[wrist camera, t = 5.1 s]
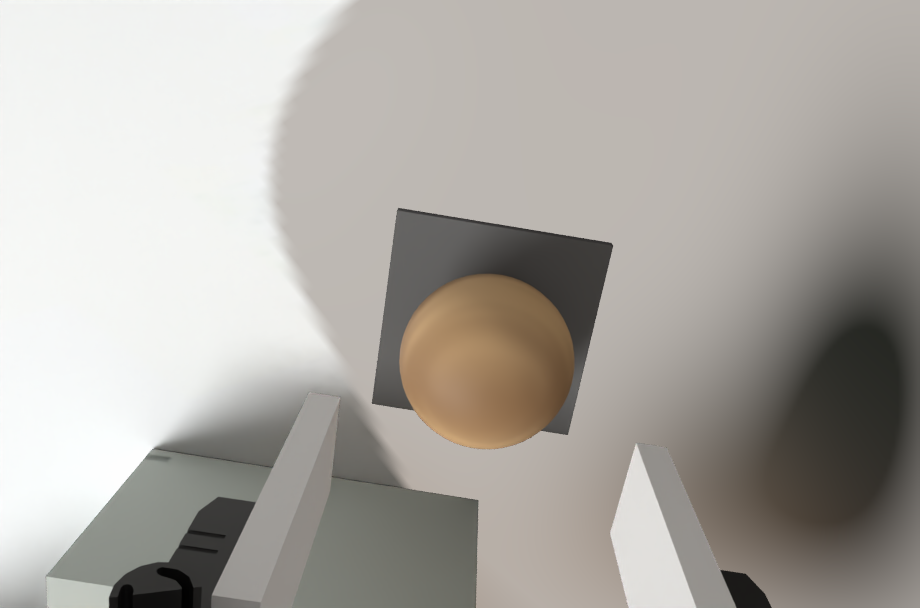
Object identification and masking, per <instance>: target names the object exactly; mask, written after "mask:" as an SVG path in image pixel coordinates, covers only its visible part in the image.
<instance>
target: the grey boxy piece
mask: <svg viewBox="0 0 920 608" xmlns="http://www.w3.org/2000/svg"><path fill="white" fill-rule="evenodd" d="M271 470H272V468H271V467H265V466H258V465H252V464H246V463H239V462H233V461H227V460H220V459H214V458H208V457H201V456H195V455H189V454H182V453H176V452H170V451H163V450H157V449H152V450H151V451H150V453H149V454H148V455H147V456H146V457H145V459H144V460H143V461H142V462H141V463H140V465H139V466H138V467H137V468H136V469H135V471H134V472H133V473H132V474H131V475H130V476H129V478H128V479H127V480H126V481H125V482H124V484H123V485H122V486H121V487H120V488H119V490H118V491H117V492H116V493H115V494H114V496H113V497H112V498H111V499H110V500H109V502H108V503H107V504H106V505H105V506H104V508H103V509H102V510H101V511H100V512H99V514H98V515H97V516H96V517H95V518H94V520H93V521H92V522H91V523H90V524H89V526H88V527H87V528H86V529H85V530H84V531H83V533H82V534H81V535H80V536H79V537H78V539H77V540H76V541H75V542H74V543H73V545H72V546H71V547H70V548H69V549H68V551H67V552H66V553H65V554H64V555H63V557H62V558H61V559H60V560H59V561H58V563H57V564H56V565H55V566H54V567H53V569H52V570H51V571H50V572H49V573H48V575H47V576H46V589H47V608H109V596H110V593H111V591H112V588H113V586H114V584H115V583H116V582H118V581H119V580H120V579H121V578H122V577H123V576H124V575H125V574H126V573H128V572H130V571H132V570H134V569H136V568H138V567H140V566H143V565H147V564H151V563H156V562H169V561H170V559H171V557H172V555H173V554H174V552H175V550H176V549H178V547H179V544H180V542H181V540H182V539H183V537H184V535H185V533H187V531H188V528H189V527H190V525H191V523H192V522H193V520H194V518H195V516H196V515H197V513H198V511H199V510H201V509H202V508H204V507H205V506H206V505H208V504H209V503H210V502H212V501H213V500H214V499H216V498H217V497H225V498H231V499H238V500H245V501H251V502H257V499H258V497H259V495H260V493H261V491H262V489H263V487H264V485H265V483H266V481H267V479H268V477H269V474H270V472H271ZM477 530H478V500H473V499H467V498H461V497H454V496H448V495H442V494H436V493H429V492H423V491H416V490H410V489H404V488H398V487H391V486H385V485H379V484H372V483H366V482H360V481H353V480H347V479H341V478H334V477H332V478H331V488H330V493H329V496H328V499H327V502H326V505H325V508H324V511H323V514H322V517H321V520H320V523H319V526H318V529H317V532H316V535H315V538H314V541H313V544H312V547H311V550H310V553H309V556H308V559H307V562H306V565H305V569H304V572H303V575H302V578H301V581H300V584H299V587H298V590H297V593H296V596H295V599H294V602H293V605H292V608H476V574H477V533H478V531H477Z"/></svg>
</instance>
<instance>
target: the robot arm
mask: <svg viewBox="0 0 920 608" xmlns="http://www.w3.org/2000/svg"><path fill="white" fill-rule="evenodd" d="M339 406H340V397H337V396H331V395H324V394H318V393H312V392H309V393H308V395H307V397H306V399H305V401H304V403H303V406H302V408H301V410H300V412H299V414H298V416H297V418H296V420H295V422H294V424H293V426H292V429H291V431H290V433H289V435H288V437H287V439H286V441H285V443H284V445H283V447H282V449H281V451H280V454H279V456H278V458H277V460H276V462H275V464H274V466H273V468H272V470H271V472H270V474H269V477H268V479H267V481H266V483H265V485H264V487H263V489H262V491H261V493H260V495H259V497H258V499H257V502H251V501H245V500H238V499H231V498H225V497H217V498H216V499H214V500H213V501H212V502H210V503H209V504H208V505H206V506H205V507H204V508H202V509H201V510H199V511H198V513H197V515H196V516H195V518H194V520H193V522H192V523H191V525H190V527H189V528H188V531H187V533H185V535H184V537H183V539H182V540H181V542H180V544H179V547H178V549H176V550H175V552H174V554H173V555H172V557H171V559H170V561H169V562H156V563H151V564H147V565H143V566H140V567H138V568H136V569H134V570H132V571H130V572H128V573H126V574H125V575H124V576H123V577H122V578H121V579H120V580H119V581H118V582H116V583H115V584H114V586H113V588H112V591H111V593H110V596H109V608H292V605H293V602H294V599H295V596H296V593H297V590H298V587H299V584H300V581H301V578H302V575H303V572H304V569H305V565H306V562H307V559H308V556H309V553H310V550H311V547H312V544H313V541H314V538H315V535H316V532H317V529H318V526H319V523H320V520H321V517H322V514H323V511H324V508H325V505H326V502H327V499H328V496H329V493H330V488H331V478H332V469H333V460H334V451H335V442H336V433H337V424H338V415H339ZM610 535H611V539H612V543H613V547H614V551H615V555H616V559H617V563H618V567H619V571H620V576H621V579H622V584H623V587H624V592H625V595H626V600H627V604H628V607H629V608H771V606H770V604H769V601H768V599H767V598H766V596H765V594H764V593H763V592H762V590H761V589H760V588H759V587H758V586H757V585H756V584H755V583H754V582H753V581H752V580H751V579H750V578H749V577H748V576H747V575H746V574H743V573H736V572H730V571H723V570H720V569H719V566H718V564H717V562H716V559H715V557H714V555H713V553H712V550H711V548H710V546H709V544H708V541H707V539H706V537H705V535H704V532H703V530H702V527H701V525H700V523H699V520H698V518H697V516H696V513H695V511H694V509H693V506H692V504H691V502H690V500H689V497H688V495H687V493H686V491H685V488H684V486H683V483H682V481H681V479H680V476H679V474H678V472H677V470H676V467H675V465H674V463H673V460H672V458H671V456H670V453H669V451H668V449H667V447H662V446H655V445H649V444H642V443H636V445H635V448H634V452H633V455H632V459H631V462H630V466H629V469H628V473H627V476H626V480H625V483H624V487H623V490H622V494H621V497H620V500H619V504H618V507H617V511H616V515H615V518H614V522H613V525H612V528H611V532H610Z"/></svg>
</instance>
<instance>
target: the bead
mask: <svg viewBox="0 0 920 608" xmlns="http://www.w3.org/2000/svg"><path fill="white" fill-rule="evenodd" d="M574 359H575V358H574V350H573V343H572V339H571V335H570V332H569V330H568V328H567V325H566V323H565V321H564V319H563V317H562V316H561V314H560V313H559V311H558V309H557V308H556V307H555V306H554V305H553V303H552V302H551V301H550V300H549V299H548V298H546V297H545V296H544V295H543V294H542V293H541V292H540V291H538V290H537V289H535V288H534V287H532V286H531V285H529V284H527V283H525V282H523V281H521V280H518V279H515V278H513V277H509V276H504V275H499V274H475V275H469V276H465V277H461V278H458V279H455V280H453V281H451V282H448V283H446V284H445V285H443V286H441V287H440V288H438V289H437V290H435V291H434V292H433V293H432V294H430V295H429V296H428V297H427V298H426V299H425V300H424V301H423V302H422V303H421V304H420V305H419V307H418V308H417V309H416V311H415V312H414V313H413V315H412V317H411V319H410V321H409V323H408V325H407V327H406V329H405V332H404V335H403V338H402V343H401V348H400V359H399V364H400V374H401V379H402V384H403V388H404V390H405V393H406V396H407V398H408V400H409V402H410V404H411V405H412V407H413V409H414V410H415V412H416V413H417V414H418V416H419V417H420V418H421V419H422V421H424V423H425V424H426V425H427V426H429V427H430V428H431V429H432V430H433V431H435V432H436V433H437V434H439V435H441V436H442V437H444V438H445V439H448V440H449V441H451V442H454V443H456V444H459V445H462V446H466V447H470V448H478V449H498V448H504V447H508V446H512V445H515V444H518V443H521V442H523V441H525V440H527V439H529V438H531V437H532V436H534V435H535V434H537V433H538V432H539V431H541V430H542V429H544V428H545V427H546V426H547V425H548V424H549V423H550V422H551V421H552V420H553V419H554V417H555V416H556V415H557V414H558V412H559V410H560V409H561V407H562V406H563V404H564V402H565V400H566V398H567V396H568V394H569V391H570V388H571V384H572V380H573V374H574Z"/></svg>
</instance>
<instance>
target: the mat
mask: <svg viewBox="0 0 920 608" xmlns="http://www.w3.org/2000/svg"><path fill="white" fill-rule="evenodd" d="M612 248H613V245H612V243H608V242H602V241H596V240H589V239H584V238H577V237H571V236H565V235H559V234H553V233H547V232H541V231H534V230H529V229H523V228H517V227H510V226H505V225H499V224H492V223H486V222H480V221H474V220H468V219H462V218H456V217H449V216H444V215H437V214H432V213H425V212H420V211H413V210H407V209H401V208H398V210H397V216H396V223H395V231H394V239H393V247H392V254H391V262H390V269H389V278H388V285H387V292H386V301H385V308H384V315H383V323H382V330H381V338H380V346H379V353H378V361H377V369H376V377H375V384H374V392H373V399H372V404H377V405H383V406H390V407H396V408H402V409H408V410H414V409H413V407H412V405H411V404H410V402H409V400H408V398H407V396H406V393H405V390H404V388H403V384H402V379H401V374H400V364H399V359H400V348H401V343H402V338H403V335H404V332H405V329H406V327H407V325H408V323H409V321H410V319H411V317H412V315H413V313H414V312H415V311H416V309H417V308H418V307H419V305H420V304H421V303H422V302H423V301H424V300H425V299H426V298H427V297H428V296H429V295H430V294H432V293H433V292H434V291H435V290H437V289H438V288H440V287H441V286H443V285H445V284H446V283H448V282H451V281H453V280H455V279H458V278H461V277H465V276H469V275H475V274H499V275H504V276H509V277H513V278H515V279H518V280H521V281H523V282H525V283H527V284H529V285H531V286H532V287H534V288H535V289H537V290H538V291H540V292H541V293H542V294H543V295H544V296H545V297H546V298H548V299H549V300H550V301H551V302H552V303H553V305H554V306H555V307H556V308H557V309H558V311H559V313H560V314H561V316H562V317H563V319H564V321H565V323H566V325H567V328H568V330H569V332H570V335H571V339H572V343H573V350H574V358H575V359H574V374H573V380H572V384H571V388H570V391H569V394H568V396H567V398H566V400H565V402H564V404H563V406H562V407H561V409H560V410H559V412H558V414H557V415H556V416H555V417H554V419H553V420H552V421H551V422H550V423H549V424H548V425H547V426H546V427H545V428H544V429H542V430H541V431H546V432H552V433H559V434H565V435H568V432H569V427H570V423H571V419H572V415H573V411H574V407H575V403H576V398H577V394H578V390H579V386H580V382H581V377H582V373H583V369H584V365H585V361H586V357H587V353H588V348H589V344H590V340H591V336H592V332H593V328H594V323H595V319H596V315H597V311H598V307H599V302H600V298H601V294H602V290H603V286H604V282H605V277H606V273H607V269H608V265H609V260H610V257H611V252H612Z"/></svg>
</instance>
